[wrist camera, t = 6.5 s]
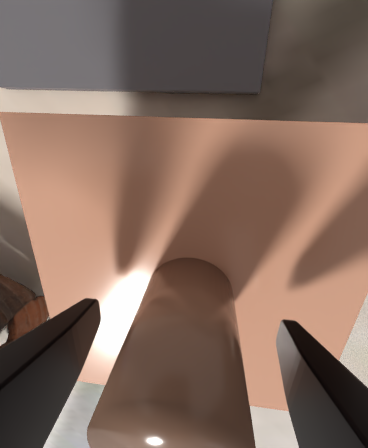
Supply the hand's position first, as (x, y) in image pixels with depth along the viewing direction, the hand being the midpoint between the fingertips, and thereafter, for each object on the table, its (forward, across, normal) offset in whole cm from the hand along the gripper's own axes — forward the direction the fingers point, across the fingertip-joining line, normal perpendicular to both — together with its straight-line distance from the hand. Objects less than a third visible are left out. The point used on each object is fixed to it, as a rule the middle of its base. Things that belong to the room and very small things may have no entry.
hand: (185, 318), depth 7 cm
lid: (+2, 0, 0) cm, 2 cm away
